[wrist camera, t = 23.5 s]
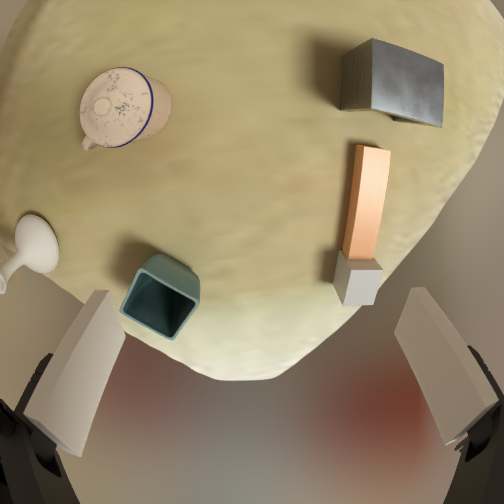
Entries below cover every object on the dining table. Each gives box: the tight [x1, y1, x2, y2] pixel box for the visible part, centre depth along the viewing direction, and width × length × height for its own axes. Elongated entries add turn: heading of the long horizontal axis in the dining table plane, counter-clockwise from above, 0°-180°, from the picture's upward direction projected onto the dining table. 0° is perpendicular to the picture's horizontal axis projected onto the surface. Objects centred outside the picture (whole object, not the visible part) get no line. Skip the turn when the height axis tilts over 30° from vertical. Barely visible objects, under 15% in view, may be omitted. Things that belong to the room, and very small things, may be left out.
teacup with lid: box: [80, 67, 172, 151], centre depth 26 cm, size 12×9×12 cm
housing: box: [340, 38, 444, 127], centre depth 25 cm, size 8×10×10 cm
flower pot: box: [120, 254, 200, 340], centre depth 38 cm, size 9×9×9 cm
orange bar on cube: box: [333, 144, 391, 306], centre depth 36 cm, size 22×5×6 cm, turn 179°
